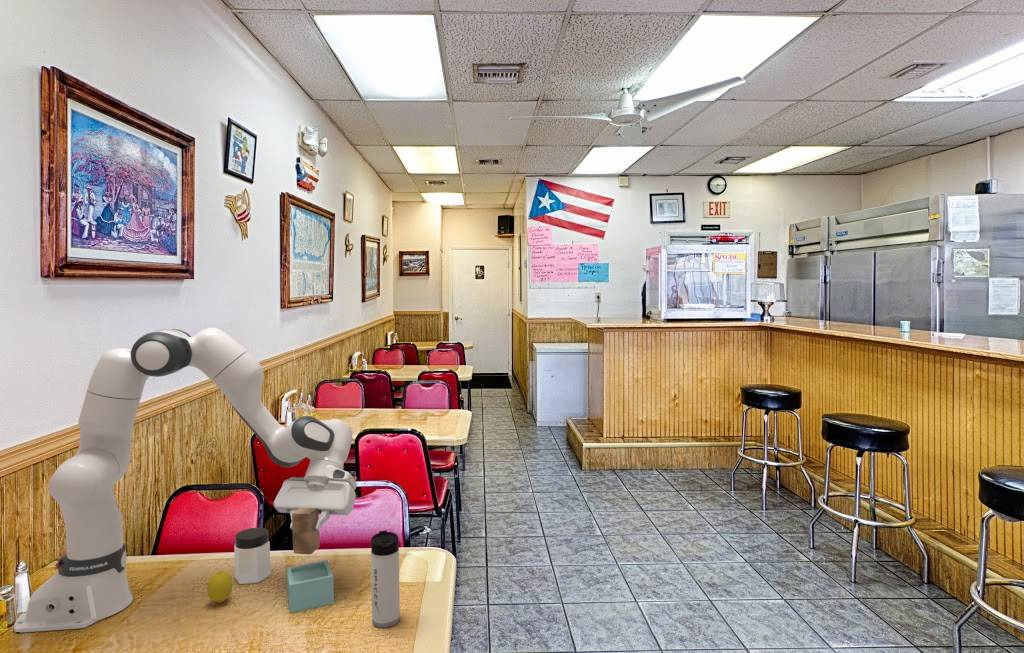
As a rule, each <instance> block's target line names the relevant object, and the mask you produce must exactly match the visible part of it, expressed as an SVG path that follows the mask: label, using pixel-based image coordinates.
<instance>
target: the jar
mask: <svg viewBox="0 0 1024 653" xmlns="http://www.w3.org/2000/svg"><path fill="white" fill-rule="evenodd" d="M269 535H270V534H269V531H268V529H267V528H265V527H251V528H246V529H243V530H241V531H239V532H237V533H236V534H235V536H234V547H233V549H234V551H233V552H234V577H235V580H236V581H237V583H238V584H239V585H246V584H248V585H249V584H258V583H260V582H262V581H263V580H265V579H266V578H269V577H270V576H271V544H270V540H269Z"/></svg>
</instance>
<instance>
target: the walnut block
mask: <svg viewBox="0 0 1024 653" xmlns="http://www.w3.org/2000/svg"><path fill="white" fill-rule="evenodd" d="M319 516H320V514H319V512H318V510H317V508H299V509H298V510H296V511H295V512H293V513H292V520H291V522H292V527H293V530H292V545H293V546H292V548H293V554H295V555H313V553H314V552H315V551H316V550H318V549H319V548H320V546H321V545H320V544H321V541H320V531H314V530H313V529H312V527H313V525H314V521H315V522H318V520H319V519H320V517H319Z"/></svg>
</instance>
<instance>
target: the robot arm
mask: <svg viewBox="0 0 1024 653" xmlns="http://www.w3.org/2000/svg"><path fill="white" fill-rule="evenodd" d="M187 367H193V368H196V369H198V370H199V371H201V373H203V374H204V375H205V376H206V377H208V379H209V380H210V381H212V382H213V383H214V384H215V386H216V387H217V388H218V389H219V390H220V391H221V392H222V393H223V395H225V397H226V399H227V400H228V401H229V403H230V405H231V408H233V409H234V411H235V412H236V414H237V415H238V417H239V418H241V420H242V421H243V422H244V423H245V424H246V426H247V427H248V428H249V429H250V430H251V431H252V433H253V434H255V436H256V437H257V438H258V439H259V441H260V442H261V443H262V444H263V446H264V449H265V451H266V453H267V455H268V457H269V459H270V460H271V461H272V462H273V463H274V464H275V465H277V466H279V467H283V468H291V467H292V468H293V467H296V466H298V464H300V462H302V461H303V460H304V459H305V458H308V459H309V460H310V461H309V464H308V466H307V469H306V472H305V475H304V476H299V477H296V476H291V477H289V478H287V479H285V480H283V483H282V486H281V488H279V489H280V490H279V491H278V493H277V494H276V496H275V499H274V501H273V507H274V509H275V510H276V511H277V512H278V513H281V514H282V513H284V514H290V519H291V523H290V526H289V528H290V530H291V531H293V527H292V513H293V512H295V511H296V510H298V509H299V508H317V510H318V512H319V515H320V516H321V517H319V520H318V522H315V521H314V525H313V527H312V529H313V530H314V531H319V532H321V530H322V528H323V527H322V526H323V525H324V524H325V523H326V522H327V521H328V520H329V519H330V517H331V516H333V515H334V516H349V515H350V514H351V513H352V512H353V509H354V505H355V502H356V492H355V490H356V488H357V486H358V485H357V484H358V483H357V481H356V480H355V478H354V477H353V475H351V474H350V473H349V471H346V470H344V463H345V462H346V461H347V459H348V456H349V454H350V450H351V446H352V441H353V430H352V427H351V426H350V425H349V424H348V423H347V422H345V421H343V420H342V419H339V418H332V419H328V420H327V419H325V420H324V419H318V418H316V417H314V416H309V415H304V416H300V417H299V418H297V419H295V420H294V421H292V422H291V423H289V424H288V425H287V426H286V427H285V426H283V425H281V424H280V423H279V422H278V421H277V419H276V418H275V417H274V416H273V415H272V414H271V412H270V411H269V409H267V408H266V406H265V405H264V403H263V402H262V396H261V393H262V386H263V383H264V376H265V374H264V369H263V367H262V365H261V364H260V362H259V361H258V360H257V359H256V357H254V356H253V354H251V352H250V351H248V349H247V348H245V346H243V345H242V344H241V343H240V342H239V341H237V340H236V339H235V338H234V337H233V336H231V335H229V333H227V332H225V331H223V330H222V329H220V328H218V327H206V328H203V329H201V330H200V331H198V332H196V334H194V335H192V336H191V335H190V334H189V333H188V332H186V331H184V330H182V329H175V328H172V329H171V328H164V329H158V330H155V331H152V332H148V333H146V334H143V335H142V336H141V337H139V338H138V339H137V340H136V341H135V342H134V343H133V345H132V347H131V348H126V347H116V348H111V349H109V350H106V351H105V352H103V353H102V355H101V356H100V358H99V360H98V362H97V364H96V366H95V367H94V370H93V372H92V374H91V377H90V378H89V379H90V380H89V382H88V386H87V390H86V392H85V395H84V399H83V403H82V407H81V409H80V414H79V416H78V426H79V445H78V449H77V451H76V453H75V454H74V455H72V457H70V458H68V459H66V460H65V461H63V462H62V463H60V465H59V466H58V467H57V468H56V469H55V471H54V473H53V475H51V477H50V480H49V484H48V491H49V494H50V495H51V498H53V499H54V501H56V502H57V503H58V506H59V508H60V512H61V515H62V517H63V518H62V519H63V521H64V527H65V541H66V544H65V545H66V550H65V551H64V552H62V554H61V557H60V558H58V559H57V561H56V563H55V564H54V570H57V572H55V573H54V574H53V575H52V576H51V577H49V578H48V579H47V580H46V581H44V582H43V583H42V584H41V585H40V586H39V587H38V588H36V590H35V591H34V592H32V594H31V595H30V598H29V600H28V603H27V608H26V610H27V612H26V613H24V614H22V613H21V614H22V615H21V614H20V615H19V616H18V617H17V619H16V620H15V622H14V626H13V631H14V632H15V633H16V632H20V633H31V632H47V631H49V632H50V631H60V630H61V631H62V630H75V629H76V630H77V629H84V628H85V629H86V628H88V627H89V626H91V625H93V624H95V623H97V622H98V621H100V620H103V619H105V618H108V617H110V616H114V615H115V614H117V613H119V612H121V611H123V610H124V609H126V608H127V607H128V606H130V604H132V602H133V600H134V596H133V595H132V592H131V590H130V586H129V582H128V579H127V572H126V566H127V551H126V544H125V543H124V533H123V532H124V530H123V529H124V528H123V514H122V512H121V510H120V509H119V508H118V505H117V502H116V497H115V493H114V492H115V491H114V488H115V484H116V483H118V482H119V481H120V480H121V479H123V477H124V476H125V474H126V473H127V471H128V469H129V466H130V463H131V455H130V454H131V448H132V439H133V438H132V437H133V428H134V424H135V421H136V417H137V413H138V410H139V406H140V403H141V400H142V399H141V398H142V395H143V392H144V388H145V385H146V382H147V380H148V379H149V377H155V378H156V377H165V376H168V375H173V374H175V373H177V372H179V371H181V370H183V369H184V368H187Z"/></svg>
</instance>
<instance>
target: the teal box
mask: <svg viewBox="0 0 1024 653" xmlns="http://www.w3.org/2000/svg"><path fill="white" fill-rule="evenodd" d="M329 562H330V561H329V560H328V559H325V560H321V561H320V560H319V561H315V562H310V563H306V564H305V563H304V564H300V565H294V566H289V567H286V593H287V594H286V595H287V600H288V601H287V602H288V607H289V613H290V614H294V613H298V611H299V612H302V610H303V611H307V609H308V610H312V609H316V607H317V608H319V607H325V606H328V604H330V605H333V604H332V603H335V598H334V597H335V596H334V595H335V594H334V593H335V591H334V586H335V585H334V574H333V572H332V569H331V565H330V563H329Z"/></svg>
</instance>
